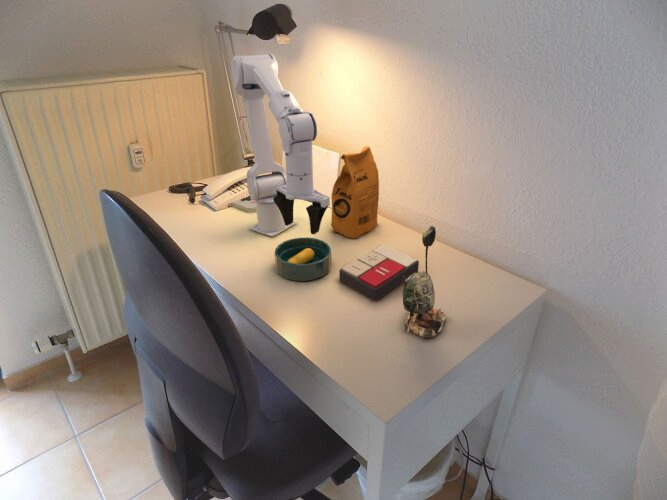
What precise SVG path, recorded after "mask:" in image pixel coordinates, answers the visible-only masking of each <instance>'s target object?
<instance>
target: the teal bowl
mask: <svg viewBox="0 0 667 500" xmlns="http://www.w3.org/2000/svg"><path fill="white" fill-rule="evenodd" d="M306 248H310V249H312V250H313V251H314V258H313V259H312V260H310V261H309V262H308V263H306V264H293V263H289V262H288V260H289V259H291V258H292V257H294V256H295V255H297V254H298V253H300V252H301V251H303V250H304V249H306ZM274 260H275V262H274V263H275V270H276V272H277V273H278V275H280V276H281V277H282V278H285V279H287V280H290V281H298V282H303V281H304V282H305V281H313V280H317V279H319V278H321V277H324V276H325V275H327V274H328V273H329V272H330V270H331V269H332V248H331V246H330V244H329V243H328V242H326V241H324V240H321V239H318V238H315V237H307V236H306V237H295V238H290V239H287V240H285V241H283V242H280V243H279V244H278V245H277V246H276V247H275V249H274Z"/></svg>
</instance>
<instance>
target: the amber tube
mask: <svg viewBox="0 0 667 500" xmlns="http://www.w3.org/2000/svg"><path fill="white" fill-rule="evenodd" d="M313 258H314V251H313V250H312V249H310V248H306V249H304V250H303V251H301V252H300V253H298V254H297V255H295V256H294V257H292V258H291V259H289V260H288V262H289V263H293V264H306V263H308V262H309V261H310V260H312V259H313Z"/></svg>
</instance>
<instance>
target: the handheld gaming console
mask: <svg viewBox="0 0 667 500" xmlns="http://www.w3.org/2000/svg"><path fill="white" fill-rule="evenodd" d="M230 206H231V207H234V208H235V209H236V208H237V209H239V210H242V211H245V212H247V213H254V212H257V210H256V201H254V200H253V199H251V197H250V196H248V197H246V198H243V199H241V200H239V201H236V202H233V203H231V202H230Z"/></svg>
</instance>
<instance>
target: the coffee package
mask: <svg viewBox="0 0 667 500" xmlns="http://www.w3.org/2000/svg"><path fill="white" fill-rule="evenodd" d="M340 159H341V160H343V163H344V164H343V165H342V168H341V171H340V174H339V176H338V177H337V178H336V180H335V181H334V184H333V186H332V190H331V191H332V192H331V224H330V225H331V228H332V230H333V232H335V233H338V234H340V235H342V236H344V237H346V238H350V239H356V238H358V237H360V235H362V234H367V233H370V232H371V231H372V229H373V228H375V227H376V226H378V209H379V199H380V198H379V197H380V179H379V169H378V166H377V163H376V161H375V159H374V155H373V152H372V150H371V146H370V145H366V146H364V147H363V148H362V150H361V151H360V152H355V153H354V152H353V153H346V154H345V153H343V154H342V155H341V156H340Z"/></svg>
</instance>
